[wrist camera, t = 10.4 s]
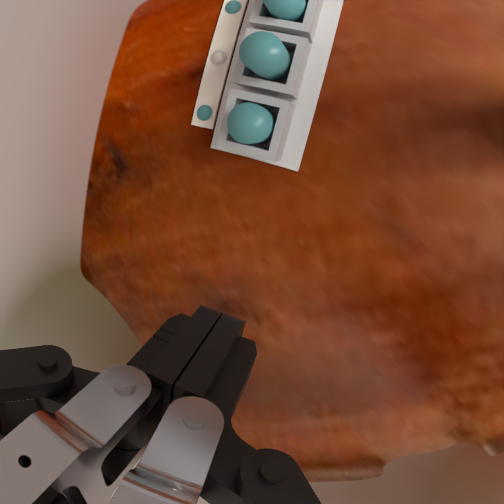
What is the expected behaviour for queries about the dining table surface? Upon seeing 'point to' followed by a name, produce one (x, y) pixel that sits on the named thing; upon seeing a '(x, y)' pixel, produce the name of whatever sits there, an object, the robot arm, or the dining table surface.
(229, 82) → the board
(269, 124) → the button
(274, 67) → the button
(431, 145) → the dining table surface
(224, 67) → the card
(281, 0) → the button
